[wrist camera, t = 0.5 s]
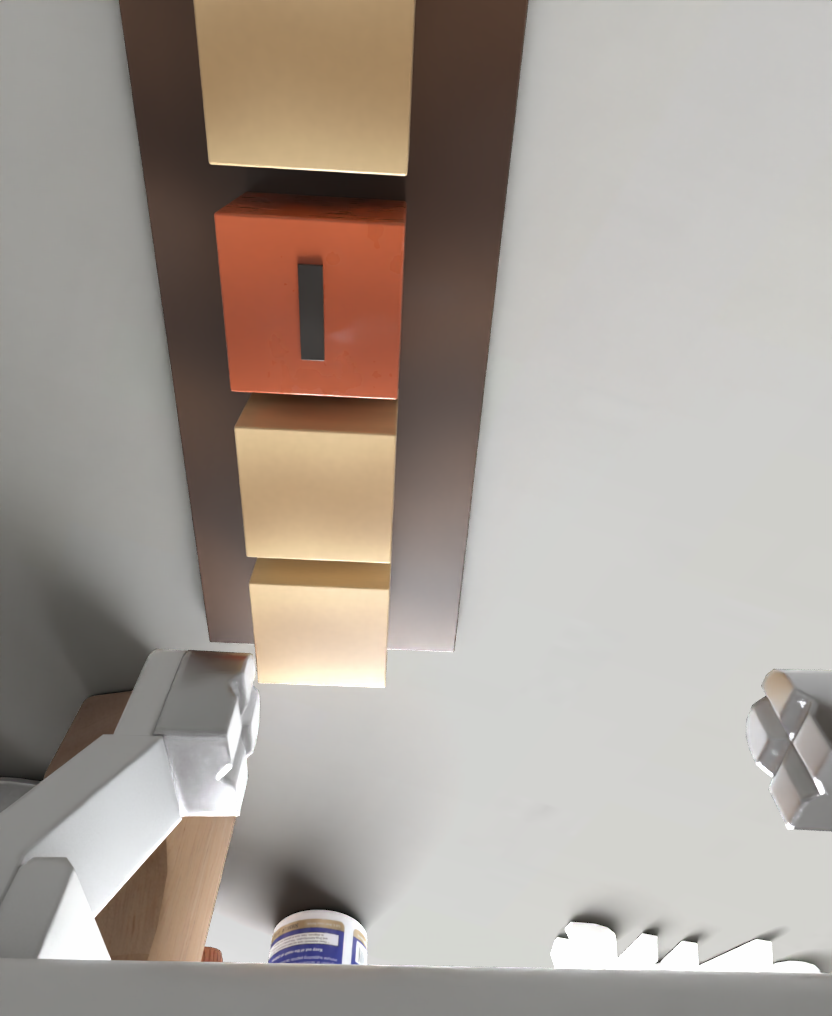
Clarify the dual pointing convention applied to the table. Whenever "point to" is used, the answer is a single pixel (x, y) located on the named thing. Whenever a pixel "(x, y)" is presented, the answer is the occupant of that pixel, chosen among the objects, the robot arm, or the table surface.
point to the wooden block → (156, 866)
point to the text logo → (599, 951)
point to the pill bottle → (319, 939)
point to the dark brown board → (425, 310)
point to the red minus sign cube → (312, 293)
